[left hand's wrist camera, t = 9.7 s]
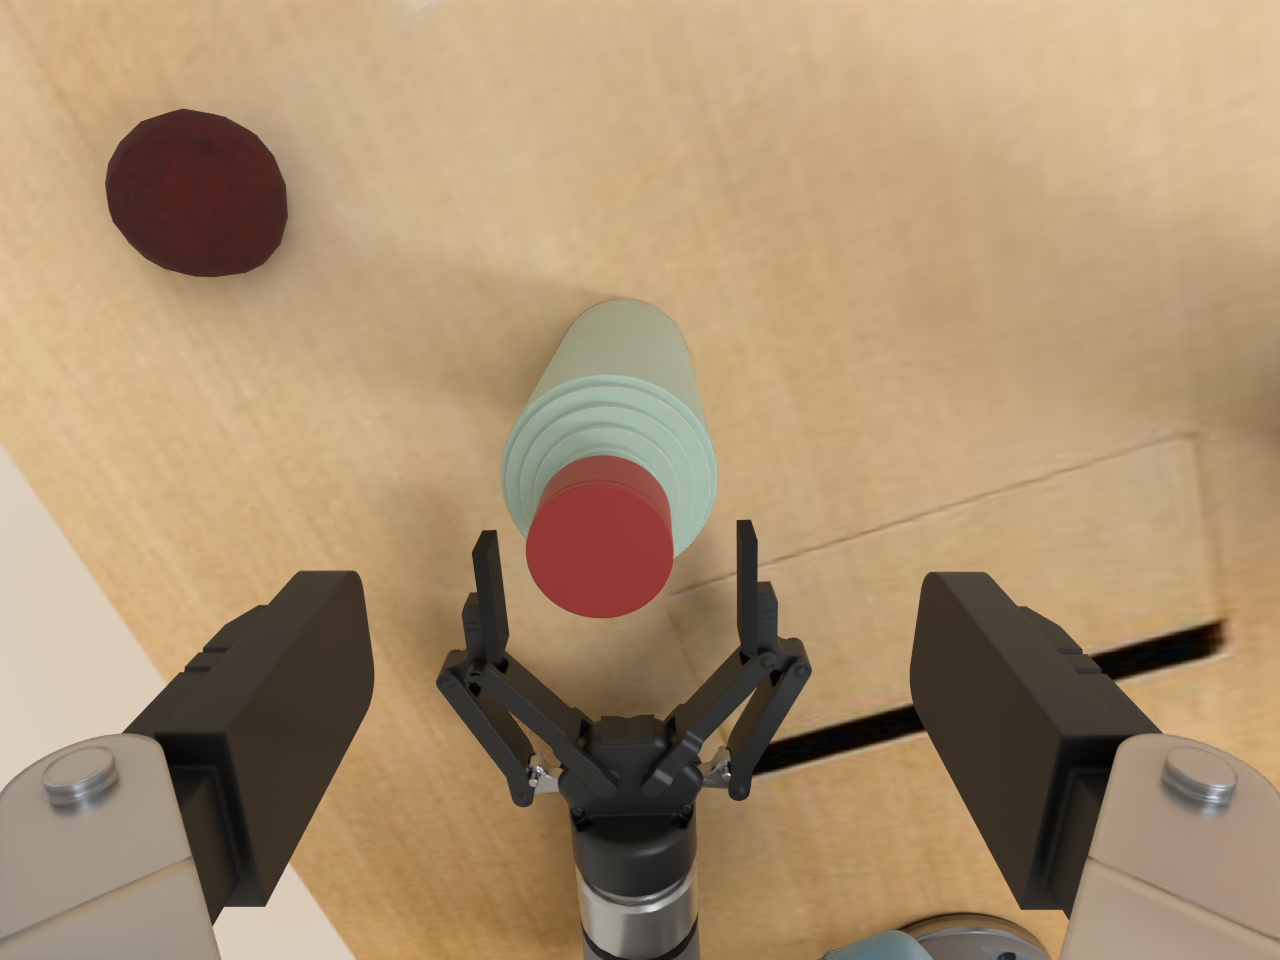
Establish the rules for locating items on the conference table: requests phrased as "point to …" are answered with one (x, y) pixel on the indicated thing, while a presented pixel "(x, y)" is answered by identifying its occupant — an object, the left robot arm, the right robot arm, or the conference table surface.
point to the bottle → (617, 414)
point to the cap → (601, 537)
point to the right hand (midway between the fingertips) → (615, 534)
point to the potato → (197, 194)
